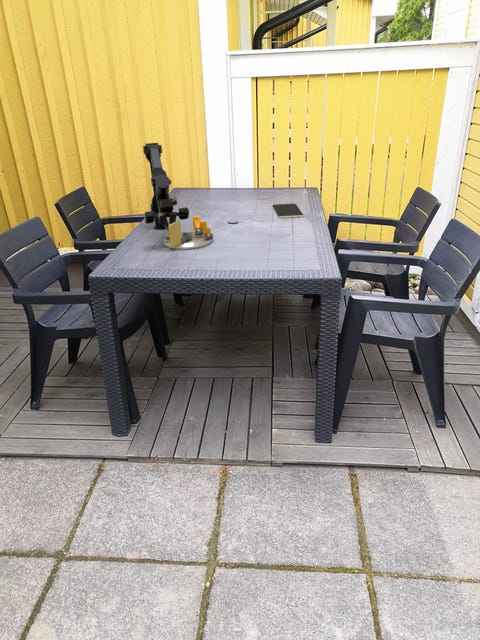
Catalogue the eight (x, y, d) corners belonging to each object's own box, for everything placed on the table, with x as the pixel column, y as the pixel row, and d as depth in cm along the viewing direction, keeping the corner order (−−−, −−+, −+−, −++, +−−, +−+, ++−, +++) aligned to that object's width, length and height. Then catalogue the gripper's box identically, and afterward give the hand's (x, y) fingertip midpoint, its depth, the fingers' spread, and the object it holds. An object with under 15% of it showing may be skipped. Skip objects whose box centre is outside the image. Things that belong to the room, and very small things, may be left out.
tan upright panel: (186, 236, 217) (184, 216, 212) (194, 237, 215) (192, 216, 211) (167, 246, 205) (165, 224, 200) (175, 247, 203) (173, 225, 198)
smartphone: (278, 220, 245) (278, 216, 245) (272, 207, 269) (272, 204, 268) (304, 218, 246) (304, 215, 245) (295, 206, 270) (295, 203, 269)
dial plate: (176, 233, 227) (175, 227, 226) (219, 236, 221) (219, 229, 220) (154, 248, 209) (154, 241, 207) (201, 251, 202) (201, 244, 201)
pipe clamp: (210, 234, 225) (209, 220, 222) (202, 235, 223) (201, 222, 220) (201, 228, 235) (200, 215, 232) (193, 229, 233) (192, 216, 230)
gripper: (142, 192, 197) (149, 226, 193) (186, 188, 202) (194, 221, 198) (142, 206, 208) (148, 239, 204) (184, 202, 212) (191, 233, 208)
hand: (170, 233), depth 203 cm, fingers closed
